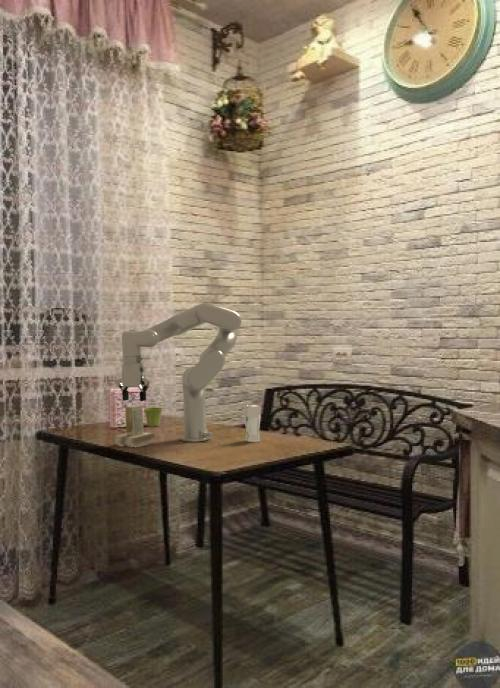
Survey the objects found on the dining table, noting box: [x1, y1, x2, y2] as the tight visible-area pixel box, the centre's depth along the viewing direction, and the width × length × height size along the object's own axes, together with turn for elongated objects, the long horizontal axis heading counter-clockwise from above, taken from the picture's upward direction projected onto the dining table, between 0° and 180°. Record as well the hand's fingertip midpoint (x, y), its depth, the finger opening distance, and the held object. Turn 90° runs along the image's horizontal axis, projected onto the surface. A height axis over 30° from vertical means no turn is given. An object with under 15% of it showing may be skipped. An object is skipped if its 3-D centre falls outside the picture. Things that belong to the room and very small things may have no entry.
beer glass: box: [243, 404, 261, 443], centre depth 253 cm, size 7×7×15 cm
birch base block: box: [113, 432, 156, 449], centre depth 253 cm, size 12×12×4 cm
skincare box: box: [124, 404, 144, 436], centre depth 253 cm, size 6×4×12 cm
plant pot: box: [143, 406, 163, 428], centre depth 300 cm, size 9×9×9 cm
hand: (134, 400), depth 253 cm, fingers open, 9 cm apart
